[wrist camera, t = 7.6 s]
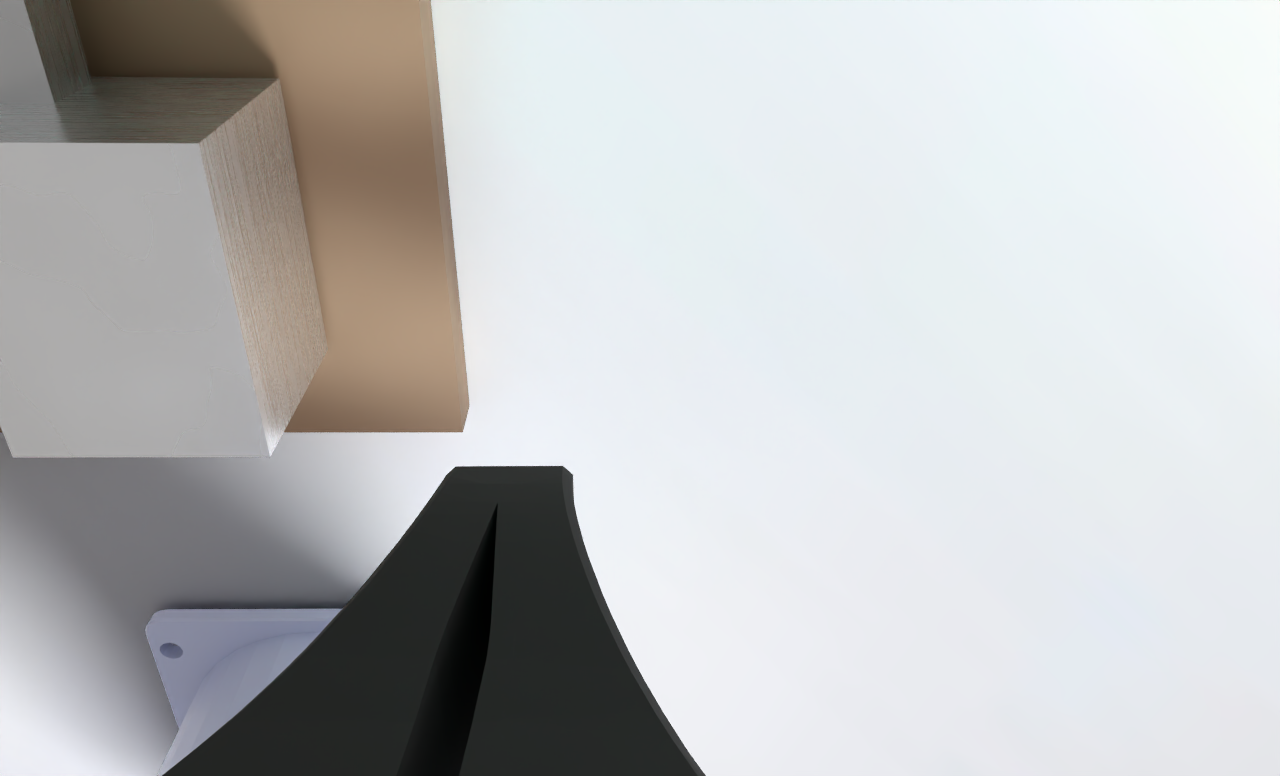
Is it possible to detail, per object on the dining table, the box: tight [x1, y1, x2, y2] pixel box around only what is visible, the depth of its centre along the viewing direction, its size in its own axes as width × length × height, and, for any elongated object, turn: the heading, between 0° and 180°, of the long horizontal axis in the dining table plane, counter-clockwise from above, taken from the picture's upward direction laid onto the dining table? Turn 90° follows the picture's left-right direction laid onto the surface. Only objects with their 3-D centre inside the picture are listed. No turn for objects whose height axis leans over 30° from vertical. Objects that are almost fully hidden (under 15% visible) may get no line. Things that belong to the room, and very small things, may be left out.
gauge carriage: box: [0, 0, 328, 458], centre depth 14 cm, size 9×4×4 cm, turn 179°
